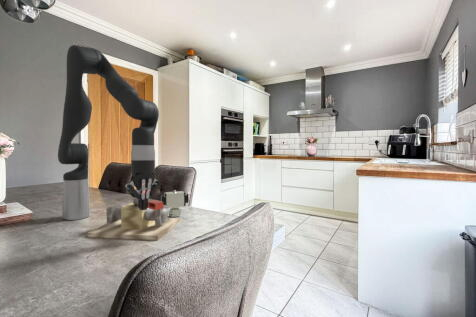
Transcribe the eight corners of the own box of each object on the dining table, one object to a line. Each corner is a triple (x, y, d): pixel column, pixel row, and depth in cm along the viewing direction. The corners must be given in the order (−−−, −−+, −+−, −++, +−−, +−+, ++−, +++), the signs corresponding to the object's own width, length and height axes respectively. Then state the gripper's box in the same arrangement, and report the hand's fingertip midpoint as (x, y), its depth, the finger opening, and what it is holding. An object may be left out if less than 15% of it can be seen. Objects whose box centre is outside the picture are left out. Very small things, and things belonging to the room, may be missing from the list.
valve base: (87, 236, 83) (86, 208, 82) (122, 219, 102) (121, 196, 102) (158, 240, 79) (157, 210, 79) (180, 221, 99) (179, 198, 99)
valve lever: (131, 203, 89) (130, 198, 89) (138, 202, 91) (138, 196, 91) (155, 210, 80) (155, 203, 80) (163, 208, 82) (163, 201, 82)
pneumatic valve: (188, 216, 107) (188, 190, 107) (161, 219, 103) (161, 191, 102) (187, 213, 112) (186, 188, 112) (161, 215, 108) (160, 189, 108)
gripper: (131, 159, 72) (132, 215, 73) (166, 158, 83) (166, 207, 84) (118, 159, 76) (118, 212, 77) (152, 158, 87) (152, 204, 88)
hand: (143, 209), depth 80 cm, fingers closed
